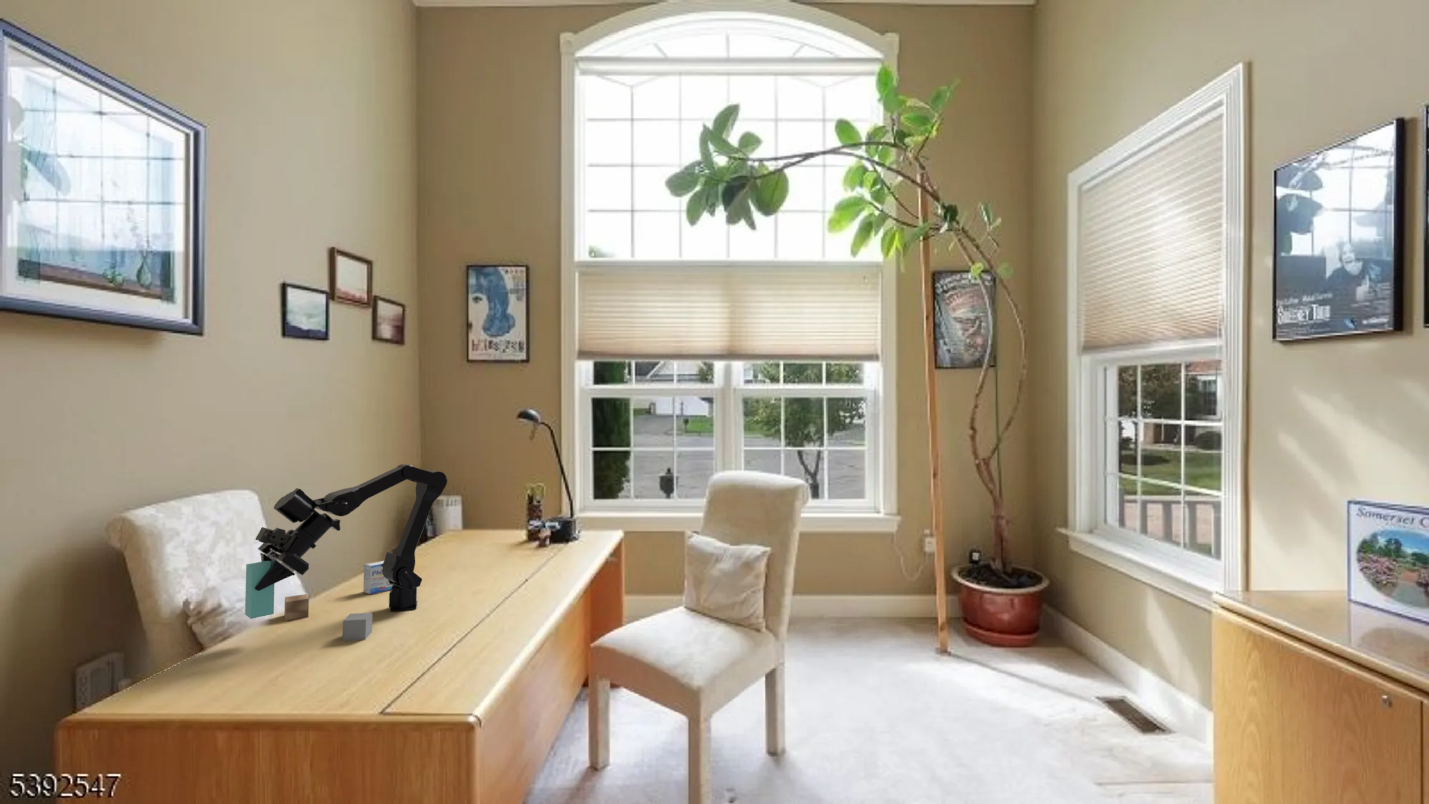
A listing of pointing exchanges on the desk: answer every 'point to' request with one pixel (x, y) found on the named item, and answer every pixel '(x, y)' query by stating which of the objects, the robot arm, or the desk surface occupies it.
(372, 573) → the medicine box
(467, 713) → the desk surface
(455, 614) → the desk surface
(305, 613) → the walnut cube
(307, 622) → the desk surface
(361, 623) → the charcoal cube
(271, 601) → the teal block
